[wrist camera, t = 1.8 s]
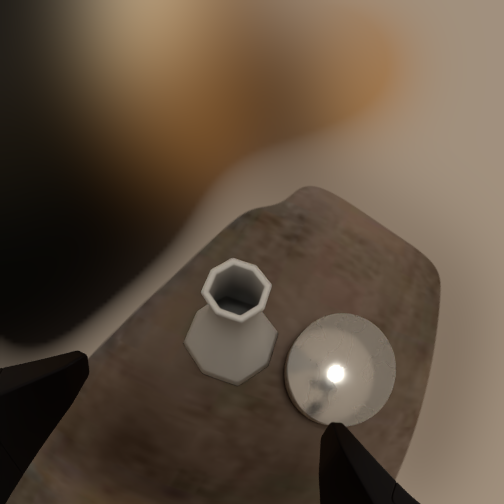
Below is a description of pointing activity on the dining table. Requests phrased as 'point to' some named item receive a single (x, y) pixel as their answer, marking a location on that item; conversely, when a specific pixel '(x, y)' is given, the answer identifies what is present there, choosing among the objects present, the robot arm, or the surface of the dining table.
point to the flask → (232, 324)
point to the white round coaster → (340, 370)
